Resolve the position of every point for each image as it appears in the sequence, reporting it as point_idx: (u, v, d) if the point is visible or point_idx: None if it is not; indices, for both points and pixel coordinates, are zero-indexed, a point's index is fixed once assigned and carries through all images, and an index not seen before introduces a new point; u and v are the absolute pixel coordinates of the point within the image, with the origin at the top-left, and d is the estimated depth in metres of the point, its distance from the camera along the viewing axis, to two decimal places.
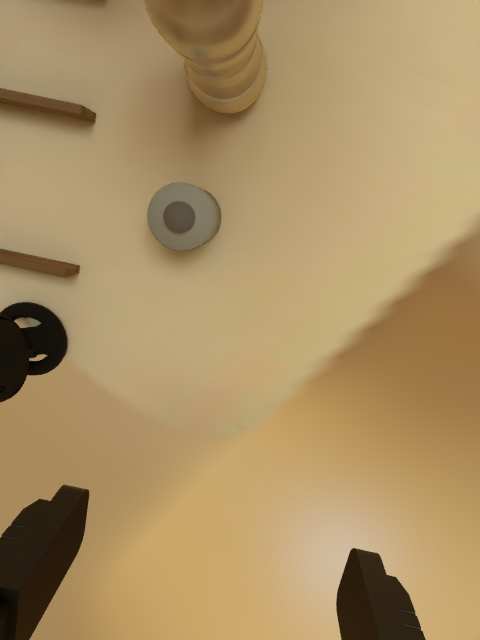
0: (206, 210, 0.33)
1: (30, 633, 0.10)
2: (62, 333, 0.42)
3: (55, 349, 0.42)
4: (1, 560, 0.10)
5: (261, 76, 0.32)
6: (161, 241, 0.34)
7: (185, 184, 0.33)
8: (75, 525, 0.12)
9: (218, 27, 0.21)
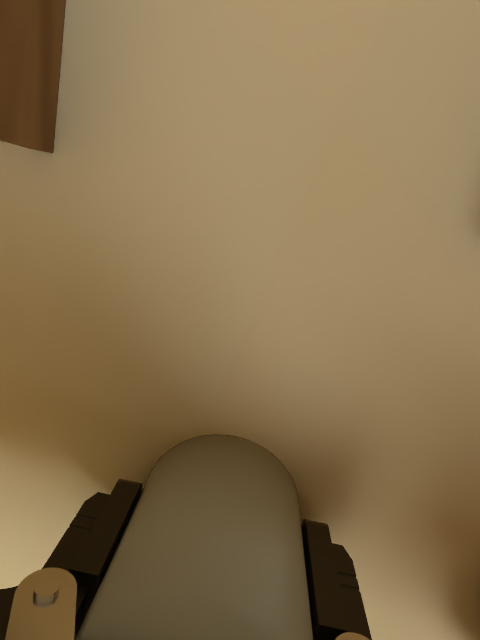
0: None
1: None
2: None
3: None
4: (73, 548, 0.11)
5: None
6: (90, 634, 0.08)
7: None
8: None
9: None
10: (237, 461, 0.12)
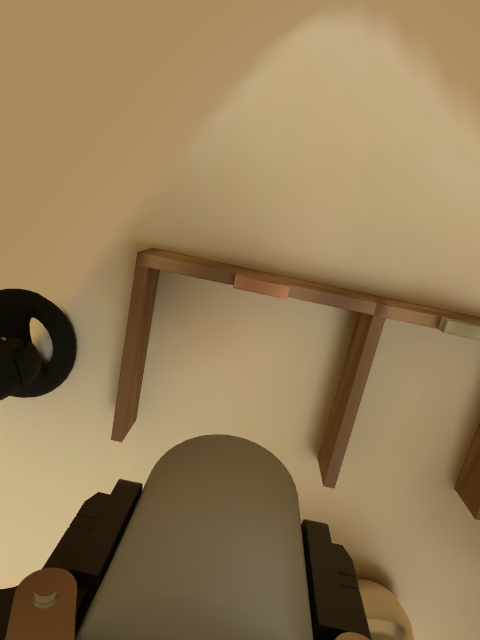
0: None
1: None
2: (35, 396, 0.29)
3: None
4: (73, 548, 0.11)
5: None
6: (90, 633, 0.08)
7: None
8: None
9: None
10: (236, 461, 0.12)
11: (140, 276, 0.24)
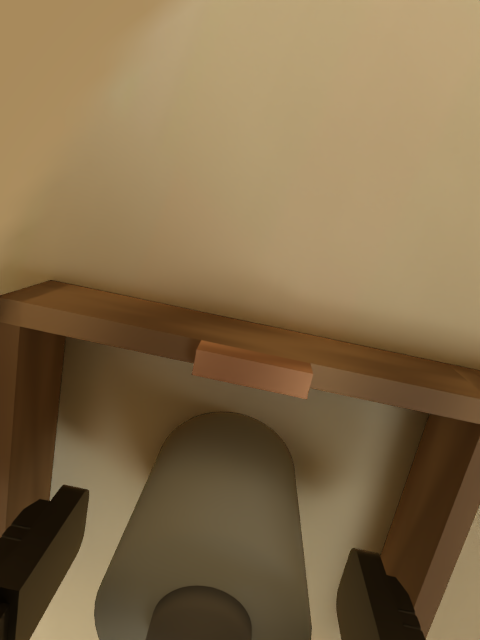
0: None
1: (30, 633, 0.10)
2: None
3: None
4: (1, 560, 0.10)
5: None
6: (119, 567, 0.10)
7: None
8: (75, 525, 0.12)
9: None
10: (240, 433, 0.14)
11: (6, 344, 0.12)
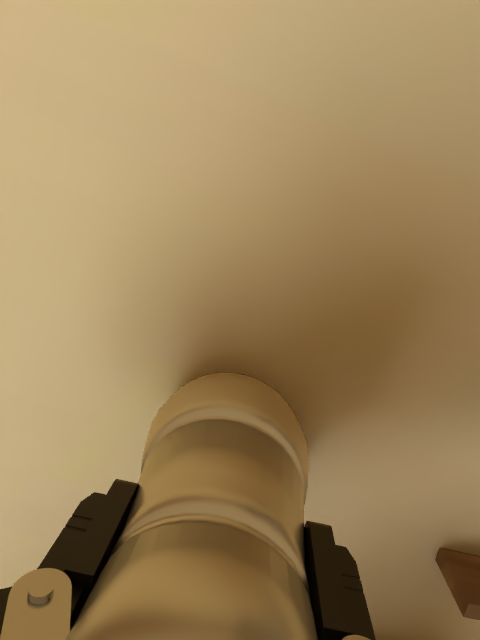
0: None
1: None
2: None
3: None
4: (69, 548, 0.11)
5: (145, 449, 0.15)
6: None
7: None
8: None
9: None
10: None
11: None
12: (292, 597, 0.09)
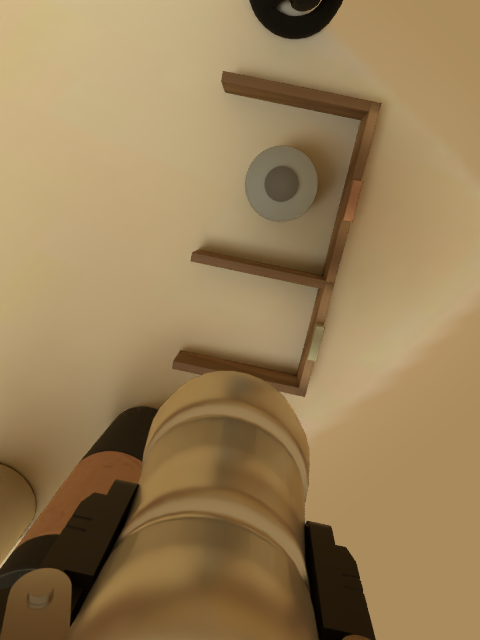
0: (251, 191, 0.31)
1: None
2: None
3: None
4: (69, 548, 0.11)
5: (146, 447, 0.15)
6: (304, 156, 0.30)
7: (273, 219, 0.31)
8: None
9: None
10: None
11: (362, 105, 0.32)
12: (293, 594, 0.09)
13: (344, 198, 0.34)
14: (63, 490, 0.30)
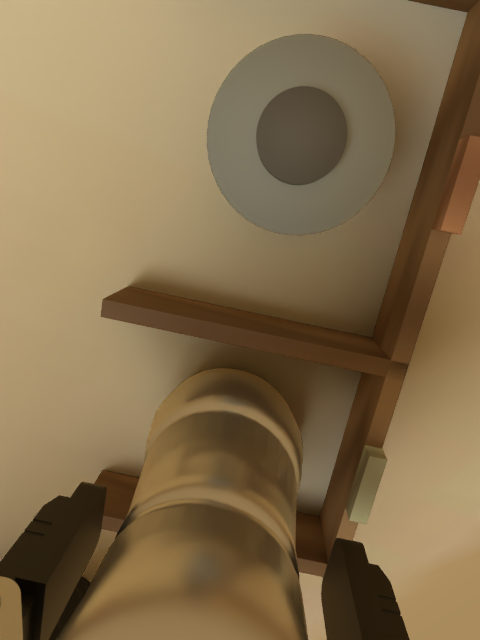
0: (223, 159, 0.12)
1: (53, 625, 0.10)
2: None
3: None
4: (25, 554, 0.10)
5: (149, 437, 0.16)
6: (362, 63, 0.11)
7: (279, 230, 0.12)
8: (94, 521, 0.12)
9: None
10: None
11: None
12: (284, 577, 0.10)
13: (432, 182, 0.16)
14: None
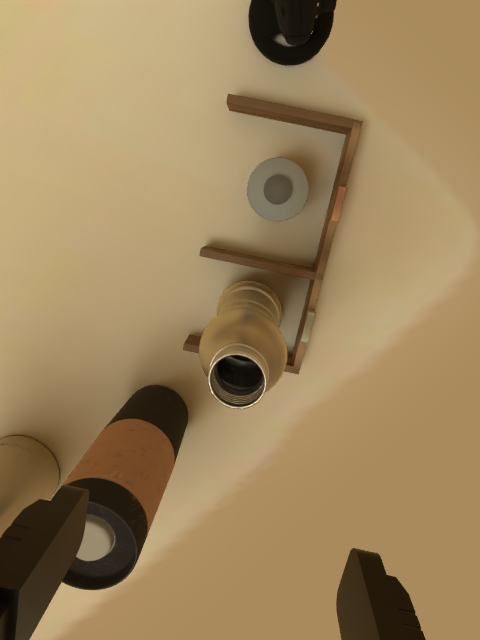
0: (252, 196, 0.36)
1: (30, 633, 0.10)
2: (250, 27, 0.38)
3: (257, 4, 0.37)
4: (1, 560, 0.10)
5: (219, 304, 0.41)
6: (297, 166, 0.35)
7: (271, 219, 0.37)
8: (75, 525, 0.12)
9: (229, 325, 0.29)
10: None
11: (346, 122, 0.37)
12: (272, 317, 0.34)
13: (332, 201, 0.40)
14: (93, 448, 0.35)
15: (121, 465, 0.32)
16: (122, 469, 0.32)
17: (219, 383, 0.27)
